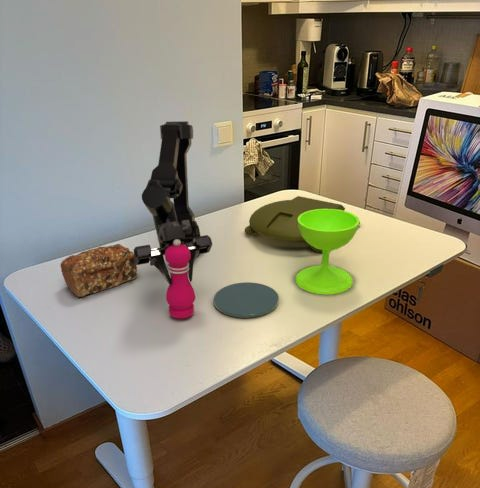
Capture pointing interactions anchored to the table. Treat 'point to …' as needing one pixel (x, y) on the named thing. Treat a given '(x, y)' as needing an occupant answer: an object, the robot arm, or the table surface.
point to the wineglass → (326, 248)
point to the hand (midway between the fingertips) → (180, 283)
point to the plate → (246, 300)
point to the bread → (98, 269)
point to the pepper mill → (179, 281)
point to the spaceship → (285, 218)
